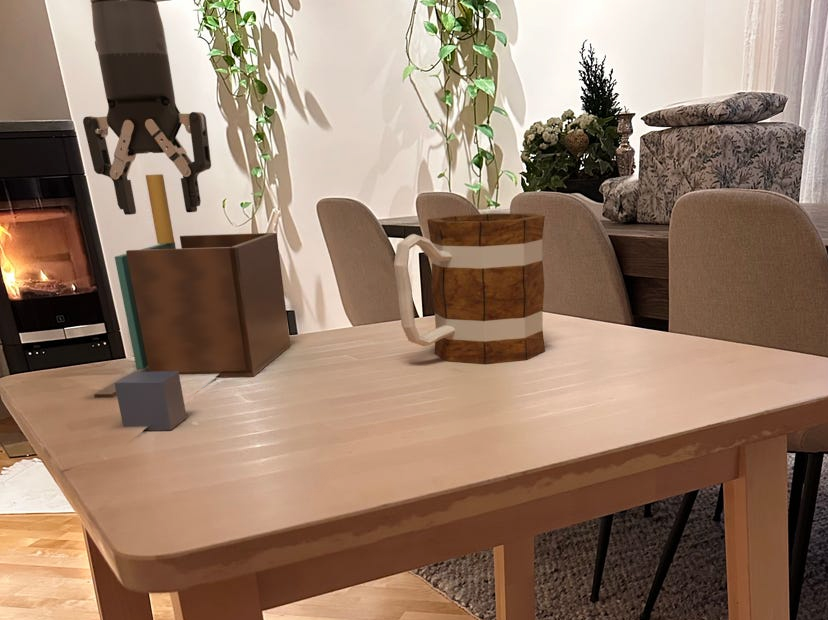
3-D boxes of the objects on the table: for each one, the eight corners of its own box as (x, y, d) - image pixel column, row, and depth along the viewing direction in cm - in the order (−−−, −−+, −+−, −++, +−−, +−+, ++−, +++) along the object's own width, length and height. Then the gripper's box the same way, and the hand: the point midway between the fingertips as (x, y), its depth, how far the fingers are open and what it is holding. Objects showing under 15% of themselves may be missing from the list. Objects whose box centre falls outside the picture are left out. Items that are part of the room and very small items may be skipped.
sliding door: (131, 369, 108) (93, 179, 99) (181, 341, 123) (152, 174, 114) (148, 369, 108) (112, 179, 99) (196, 341, 123) (168, 173, 114)
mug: (494, 337, 124) (491, 211, 117) (568, 350, 114) (569, 215, 107) (370, 361, 113) (358, 224, 106) (440, 378, 104) (432, 229, 97)
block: (124, 431, 88) (113, 382, 86) (141, 418, 92) (132, 371, 90) (171, 430, 88) (162, 381, 86) (187, 418, 92) (178, 370, 90)
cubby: (95, 401, 99) (64, 262, 93) (185, 348, 124) (165, 236, 118) (226, 399, 98) (204, 258, 92) (290, 346, 123) (276, 232, 117)
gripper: (205, 52, 109) (228, 209, 117) (85, 57, 110) (115, 213, 118) (184, 46, 103) (209, 213, 110) (56, 52, 104) (90, 217, 111)
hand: (160, 212), depth 114 cm, fingers open, 7 cm apart
